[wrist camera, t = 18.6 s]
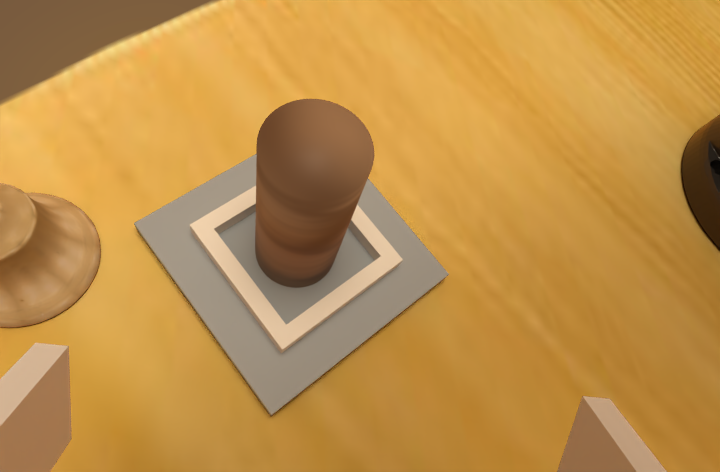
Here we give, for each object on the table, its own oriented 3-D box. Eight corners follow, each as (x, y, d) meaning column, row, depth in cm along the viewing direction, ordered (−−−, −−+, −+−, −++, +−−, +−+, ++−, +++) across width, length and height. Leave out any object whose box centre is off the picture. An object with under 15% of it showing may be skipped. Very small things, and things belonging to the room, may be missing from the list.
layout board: (316, 127, 39) (320, 108, 37) (443, 278, 36) (455, 268, 34) (137, 229, 34) (129, 214, 32) (270, 416, 31) (272, 413, 29)
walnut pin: (302, 199, 35) (324, 81, 25) (351, 256, 34) (397, 160, 24) (238, 241, 34) (232, 134, 23) (289, 303, 33) (307, 222, 22)
